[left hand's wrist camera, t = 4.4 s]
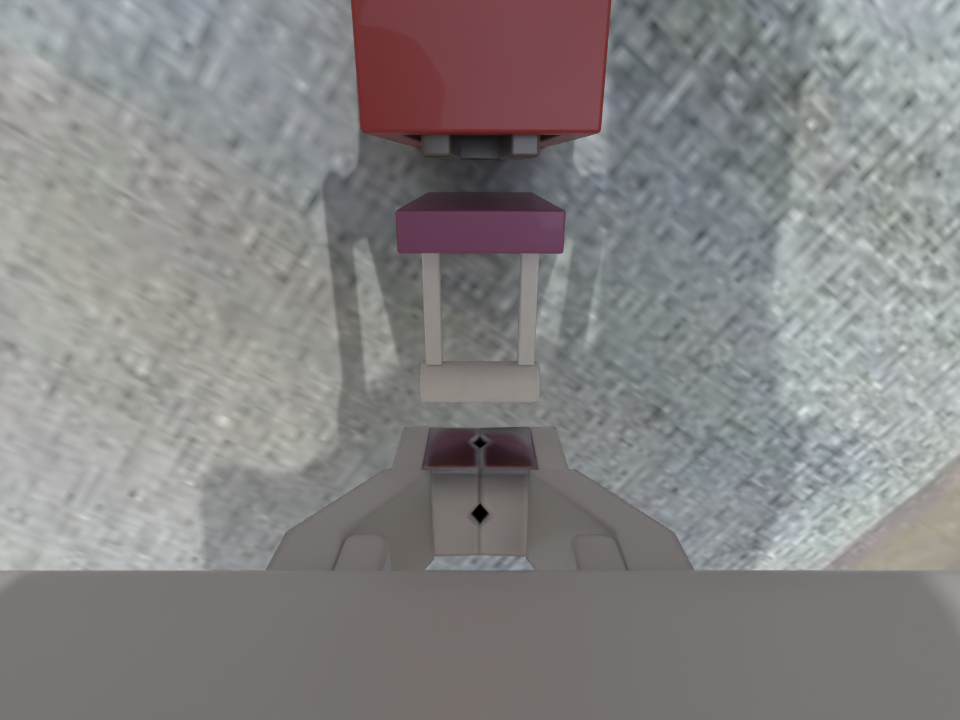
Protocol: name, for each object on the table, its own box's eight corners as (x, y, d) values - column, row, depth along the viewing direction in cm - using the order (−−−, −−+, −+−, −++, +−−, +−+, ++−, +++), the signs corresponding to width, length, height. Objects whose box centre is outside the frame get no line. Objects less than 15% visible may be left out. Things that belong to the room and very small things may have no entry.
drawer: (526, 344, 26) (552, 440, 17) (432, 344, 26) (407, 440, 17) (553, -365, 17) (637, -962, 8) (408, -367, 17) (329, -965, 8)
